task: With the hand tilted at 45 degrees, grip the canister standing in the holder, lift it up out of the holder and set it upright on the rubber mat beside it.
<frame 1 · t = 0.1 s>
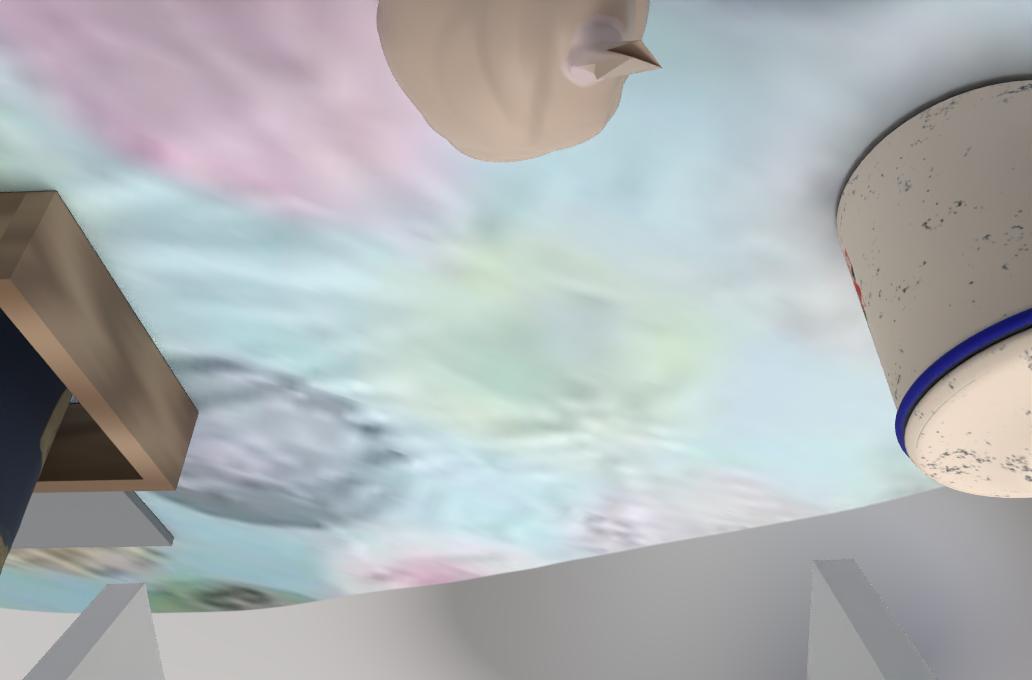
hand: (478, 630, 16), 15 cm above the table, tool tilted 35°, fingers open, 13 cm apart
teacup with lid: (1001, 194, 27), on the table
mat: (23, 491, 44), on the table
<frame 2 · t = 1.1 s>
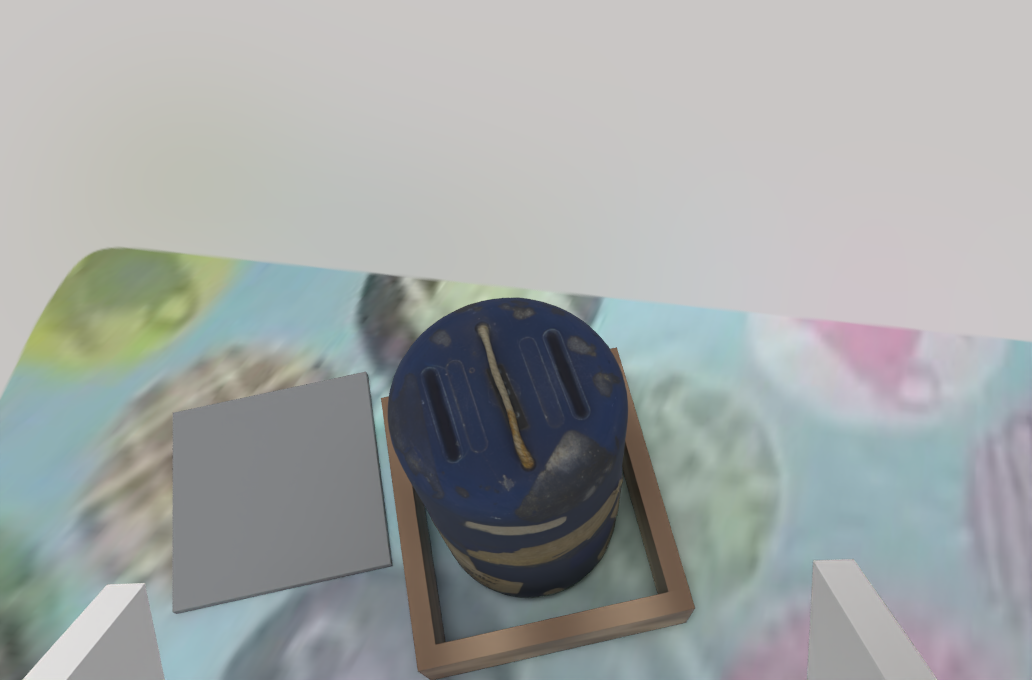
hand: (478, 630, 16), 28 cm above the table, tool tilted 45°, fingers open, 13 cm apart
mat: (278, 486, 48), on the table
canister: (530, 518, 46), resting in holder
holder: (530, 517, 46), on the table
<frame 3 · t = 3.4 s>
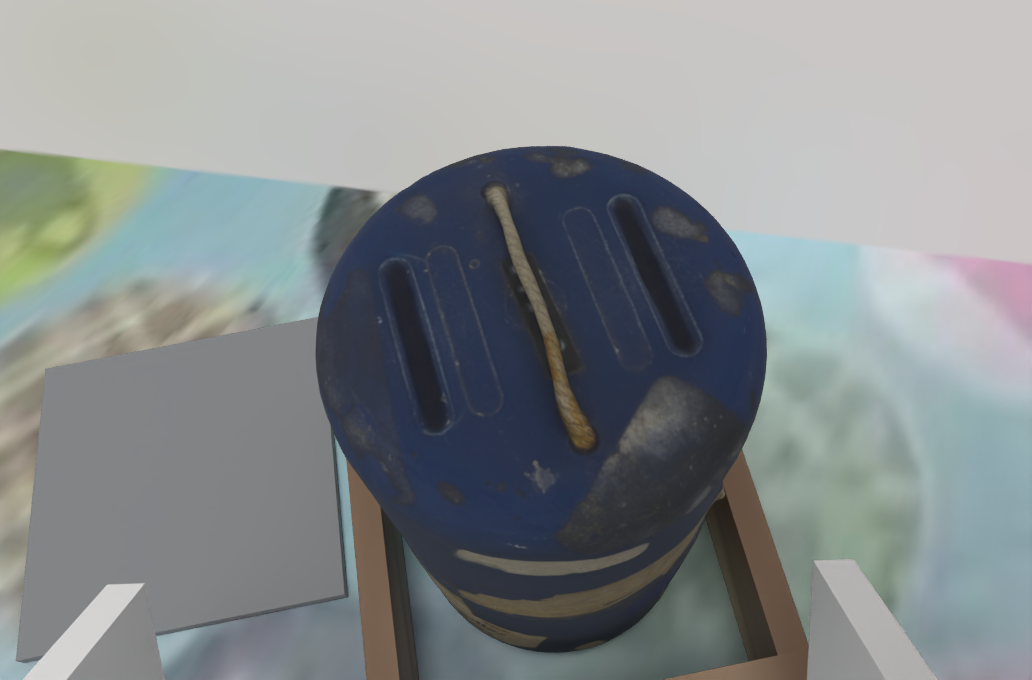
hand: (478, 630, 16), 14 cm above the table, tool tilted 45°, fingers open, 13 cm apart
mat: (188, 476, 33), on the table
canister: (553, 529, 31), resting in holder
holder: (553, 528, 31), on the table
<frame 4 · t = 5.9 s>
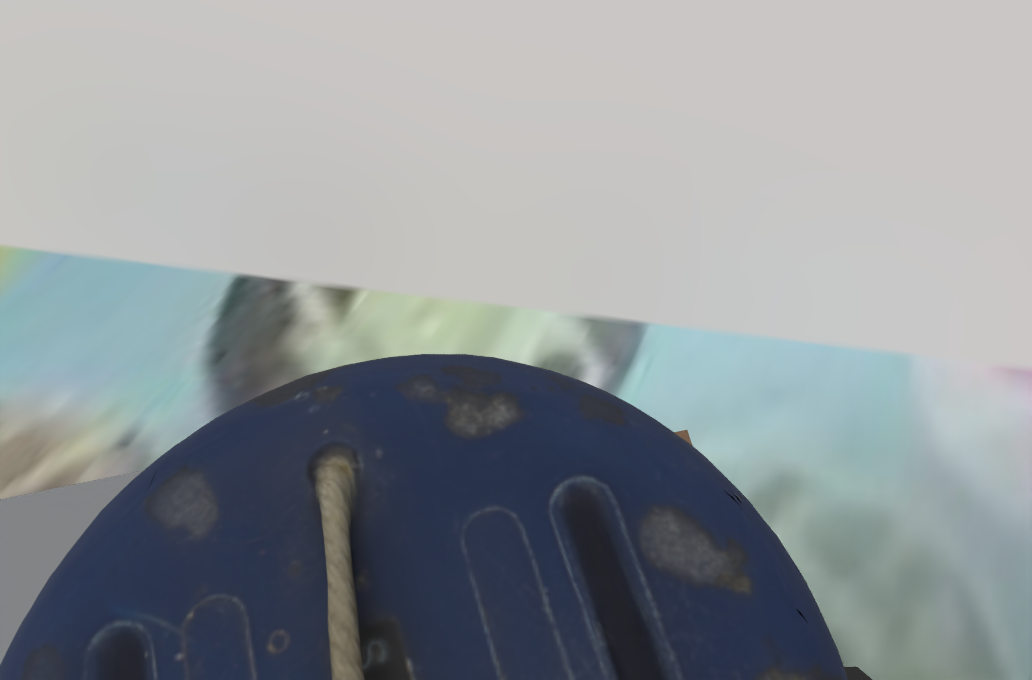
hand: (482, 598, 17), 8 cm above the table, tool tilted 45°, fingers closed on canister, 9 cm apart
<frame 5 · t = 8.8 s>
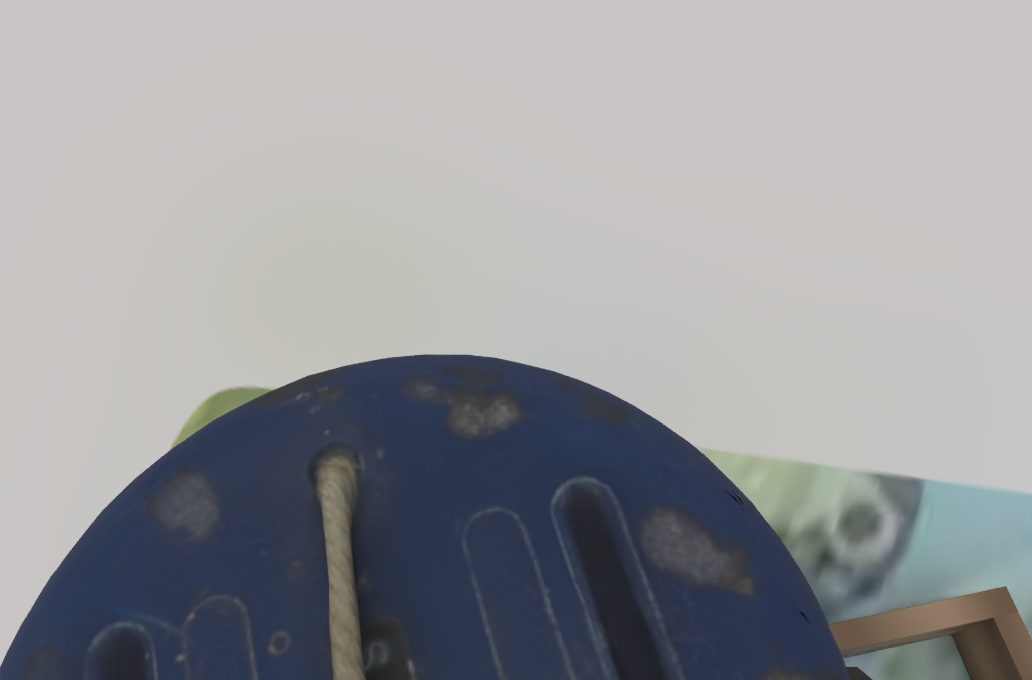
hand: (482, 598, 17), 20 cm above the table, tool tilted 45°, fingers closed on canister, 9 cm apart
when the fingers open (10 cm above the table, at t = 11.9 s): canister drops 1 cm, resting on mat.
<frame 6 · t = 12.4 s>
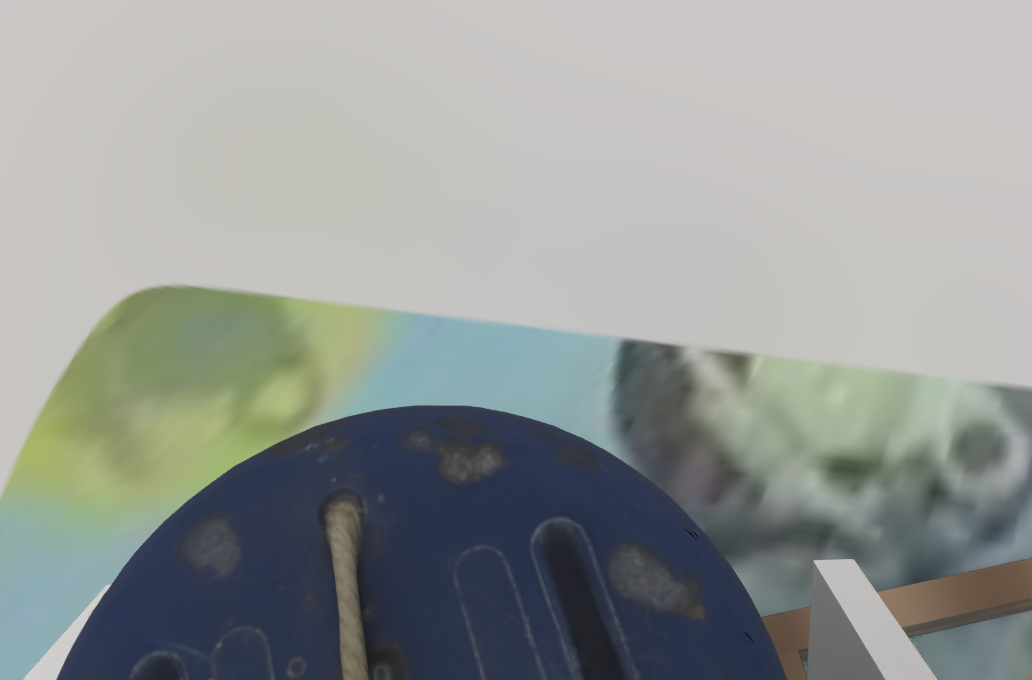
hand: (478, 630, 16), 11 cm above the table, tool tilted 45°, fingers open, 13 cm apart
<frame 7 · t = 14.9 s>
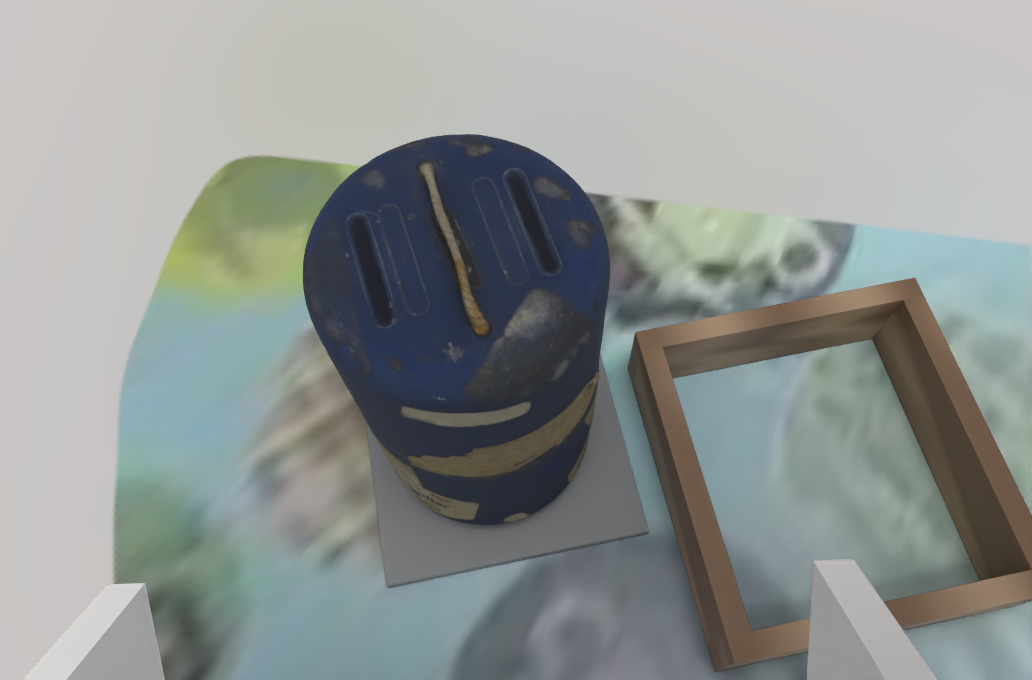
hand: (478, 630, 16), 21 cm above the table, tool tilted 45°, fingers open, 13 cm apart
mat: (494, 437, 40), on the table
canister: (490, 437, 39), resting on mat
holder: (807, 478, 38), on the table
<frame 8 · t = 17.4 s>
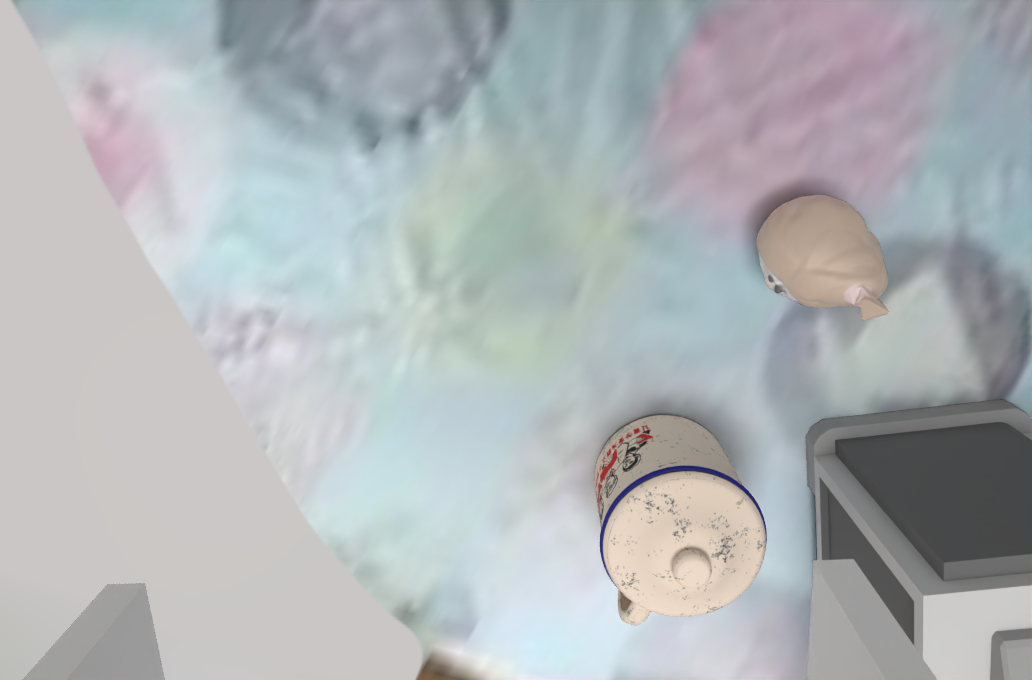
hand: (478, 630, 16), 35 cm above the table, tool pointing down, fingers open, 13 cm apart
teacup with lid: (651, 492, 53), on the table
alarm clock: (909, 536, 54), on the table
garlic bulb: (800, 243, 49), on the table
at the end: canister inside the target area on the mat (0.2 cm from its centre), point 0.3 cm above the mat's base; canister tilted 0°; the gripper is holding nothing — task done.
